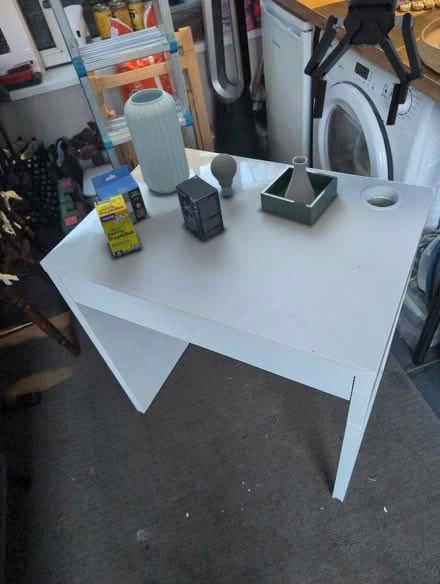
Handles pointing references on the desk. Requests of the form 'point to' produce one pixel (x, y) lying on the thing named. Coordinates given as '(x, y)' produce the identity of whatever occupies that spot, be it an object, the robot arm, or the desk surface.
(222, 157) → the light bulb
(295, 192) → the flask
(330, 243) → the desk surface
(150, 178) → the vase
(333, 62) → the robot arm
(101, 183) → the tape cartridge
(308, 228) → the desk surface
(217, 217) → the box
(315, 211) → the caddy
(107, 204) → the supplement box
